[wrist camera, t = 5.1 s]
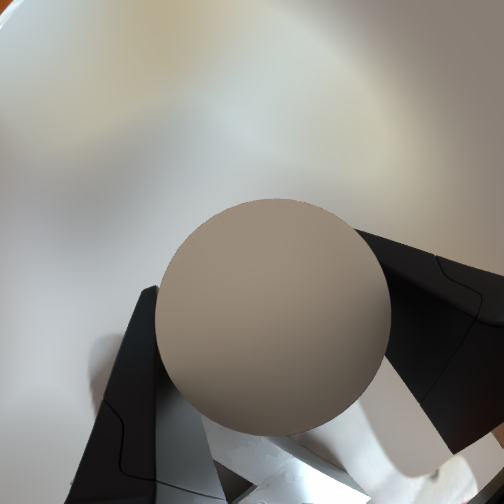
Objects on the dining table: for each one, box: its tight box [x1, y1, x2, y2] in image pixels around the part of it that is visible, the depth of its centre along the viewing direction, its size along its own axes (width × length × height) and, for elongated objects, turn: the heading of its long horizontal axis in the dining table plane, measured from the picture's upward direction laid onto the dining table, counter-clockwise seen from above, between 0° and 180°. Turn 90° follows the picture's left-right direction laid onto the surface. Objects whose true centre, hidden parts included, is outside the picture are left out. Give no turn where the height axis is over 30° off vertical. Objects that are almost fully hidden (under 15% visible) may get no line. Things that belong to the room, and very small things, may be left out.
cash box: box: [70, 413, 370, 504], centre depth 15 cm, size 16×12×4 cm
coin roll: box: [155, 199, 391, 437], centre depth 10 cm, size 4×4×10 cm
